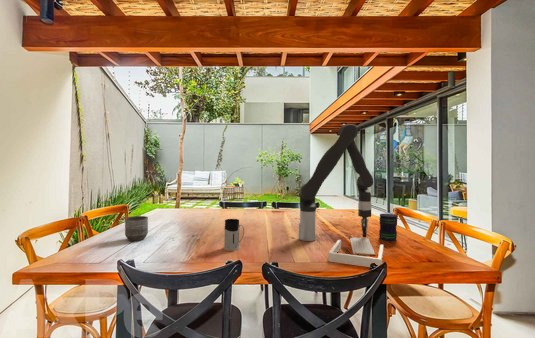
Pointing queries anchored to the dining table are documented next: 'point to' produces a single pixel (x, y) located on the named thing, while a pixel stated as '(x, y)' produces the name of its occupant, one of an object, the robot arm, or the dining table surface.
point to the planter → (136, 228)
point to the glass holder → (232, 235)
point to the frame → (353, 257)
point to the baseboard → (361, 246)
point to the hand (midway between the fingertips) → (364, 236)
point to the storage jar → (388, 227)
